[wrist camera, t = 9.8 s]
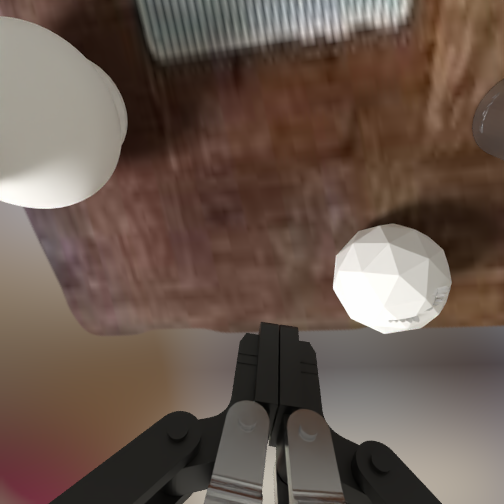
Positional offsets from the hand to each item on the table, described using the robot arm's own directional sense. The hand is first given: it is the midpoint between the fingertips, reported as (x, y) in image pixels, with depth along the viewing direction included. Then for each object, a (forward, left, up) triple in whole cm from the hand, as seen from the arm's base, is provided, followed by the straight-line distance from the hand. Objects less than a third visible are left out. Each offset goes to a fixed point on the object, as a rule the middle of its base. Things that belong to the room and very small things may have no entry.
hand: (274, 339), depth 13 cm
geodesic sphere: (-16, +12, -33) cm, 39 cm away
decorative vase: (+26, -2, -33) cm, 42 cm away
